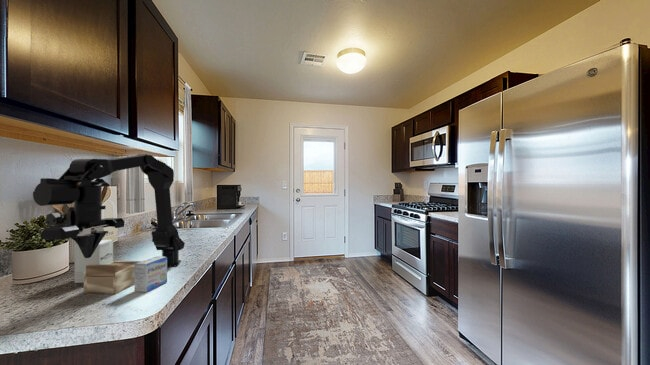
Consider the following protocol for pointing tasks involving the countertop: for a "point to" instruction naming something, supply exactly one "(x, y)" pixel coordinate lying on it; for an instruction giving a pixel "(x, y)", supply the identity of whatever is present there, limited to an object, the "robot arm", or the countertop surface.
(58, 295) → the countertop surface
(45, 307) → the countertop surface
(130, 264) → the lid
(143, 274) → the medicine box
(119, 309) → the countertop surface
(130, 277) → the birch box
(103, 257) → the supplement box
